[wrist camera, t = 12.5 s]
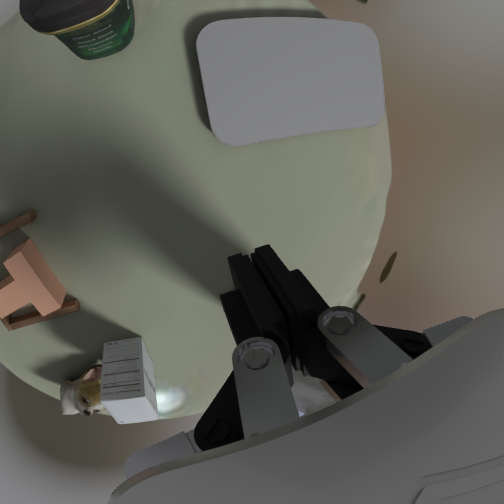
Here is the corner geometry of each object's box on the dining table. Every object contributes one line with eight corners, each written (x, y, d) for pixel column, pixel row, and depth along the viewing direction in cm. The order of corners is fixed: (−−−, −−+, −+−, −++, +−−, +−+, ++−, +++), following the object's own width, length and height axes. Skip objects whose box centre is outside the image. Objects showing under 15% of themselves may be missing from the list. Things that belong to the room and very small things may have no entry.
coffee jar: (139, 49, 26) (122, -5, 10) (76, 67, 24) (6, 41, 9) (134, -15, 21) (123, -97, 5) (72, 3, 19) (17, -58, 4)
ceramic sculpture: (43, 407, 35) (105, 389, 38) (47, 372, 42) (105, 351, 45) (78, 433, 41) (138, 417, 44) (78, 400, 48) (133, 382, 51)
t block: (66, 291, 37) (61, 307, 34) (19, 316, 36) (13, 332, 32) (30, 237, 31) (20, 251, 28) (-15, 270, 30) (-25, 284, 27)
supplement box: (153, 362, 49) (160, 420, 38) (116, 368, 47) (117, 425, 36) (142, 335, 45) (146, 396, 34) (102, 341, 43) (98, 402, 33)
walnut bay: (80, 304, 39) (78, 310, 37) (11, 325, 36) (8, 330, 34) (33, 209, 30) (29, 213, 29) (-36, 245, 27) (-40, 249, 26)
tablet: (190, 28, 26) (192, 24, 24) (366, 27, 31) (375, 25, 29) (212, 148, 35) (215, 151, 33) (376, 123, 40) (385, 125, 38)
